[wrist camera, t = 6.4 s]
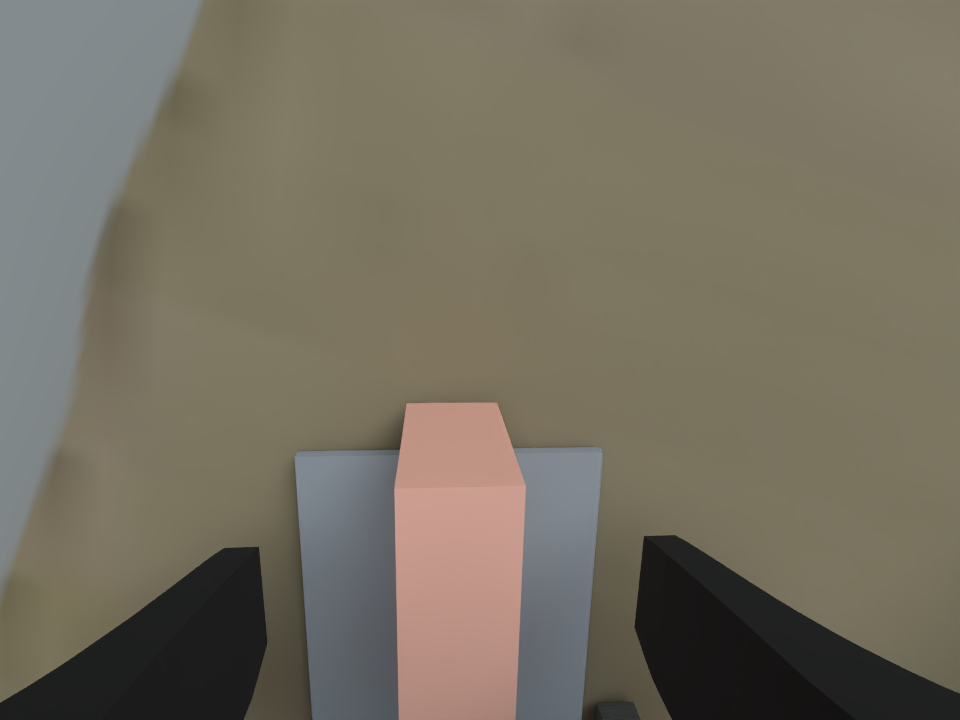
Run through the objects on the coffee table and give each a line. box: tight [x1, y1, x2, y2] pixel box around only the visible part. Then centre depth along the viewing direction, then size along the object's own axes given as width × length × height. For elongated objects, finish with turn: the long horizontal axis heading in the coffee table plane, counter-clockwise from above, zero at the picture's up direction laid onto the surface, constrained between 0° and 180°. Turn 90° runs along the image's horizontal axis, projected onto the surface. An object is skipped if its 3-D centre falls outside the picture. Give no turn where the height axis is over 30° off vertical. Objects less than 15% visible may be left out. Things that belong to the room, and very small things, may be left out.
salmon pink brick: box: [394, 403, 526, 720], centre depth 11 cm, size 2×8×4 cm, turn 179°
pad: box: [295, 447, 603, 720], centre depth 14 cm, size 7×8×1 cm
